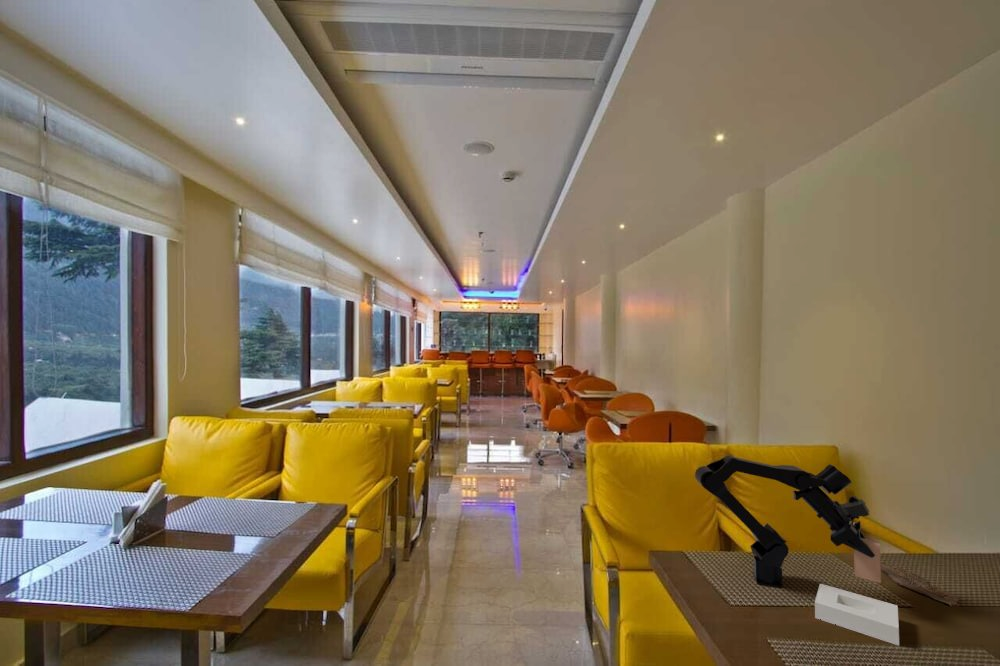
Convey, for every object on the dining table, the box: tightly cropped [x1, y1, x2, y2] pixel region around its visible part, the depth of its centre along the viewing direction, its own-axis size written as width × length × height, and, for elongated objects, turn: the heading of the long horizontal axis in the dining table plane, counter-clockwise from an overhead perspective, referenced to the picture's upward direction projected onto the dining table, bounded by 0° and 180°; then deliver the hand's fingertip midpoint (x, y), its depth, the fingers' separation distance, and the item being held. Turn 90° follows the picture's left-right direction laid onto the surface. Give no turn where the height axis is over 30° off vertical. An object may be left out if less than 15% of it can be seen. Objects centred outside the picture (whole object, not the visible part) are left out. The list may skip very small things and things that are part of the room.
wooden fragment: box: [880, 562, 960, 607], centre depth 130 cm, size 26×11×1 cm, turn 178°
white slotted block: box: [814, 583, 900, 646], centre depth 112 cm, size 16×12×4 cm
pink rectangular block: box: [853, 538, 882, 584], centre depth 121 cm, size 6×3×10 cm, turn 49°
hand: (873, 554), depth 120 cm, fingers closed on pink rectangular block, 3 cm apart
